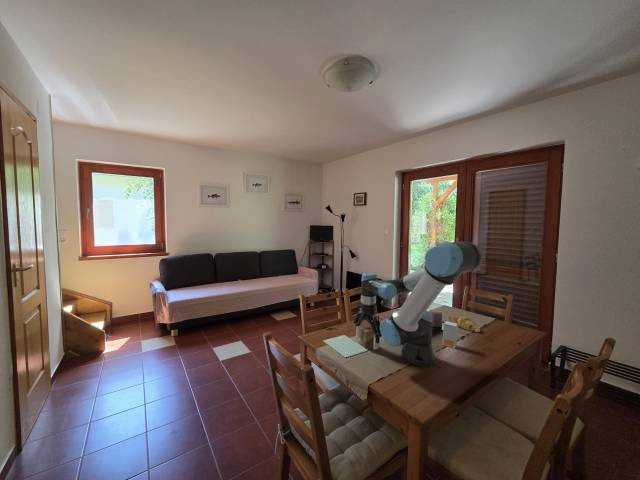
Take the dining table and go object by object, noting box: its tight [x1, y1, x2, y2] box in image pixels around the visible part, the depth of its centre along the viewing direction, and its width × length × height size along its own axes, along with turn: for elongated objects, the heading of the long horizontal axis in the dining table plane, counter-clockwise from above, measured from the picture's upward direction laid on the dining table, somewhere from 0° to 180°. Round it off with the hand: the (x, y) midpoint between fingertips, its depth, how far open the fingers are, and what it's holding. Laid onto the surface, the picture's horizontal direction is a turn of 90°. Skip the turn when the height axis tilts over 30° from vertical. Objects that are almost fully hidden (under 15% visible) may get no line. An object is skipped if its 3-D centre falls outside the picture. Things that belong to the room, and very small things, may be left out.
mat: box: [322, 334, 369, 359], centre depth 139 cm, size 20×14×1 cm
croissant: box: [448, 315, 481, 333], centre depth 165 cm, size 21×10×8 cm, turn 25°
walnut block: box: [359, 326, 375, 350], centre depth 139 cm, size 4×6×9 cm, turn 121°
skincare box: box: [441, 320, 459, 349], centre depth 140 cm, size 6×4×12 cm
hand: (366, 343), depth 139 cm, fingers open, 13 cm apart
